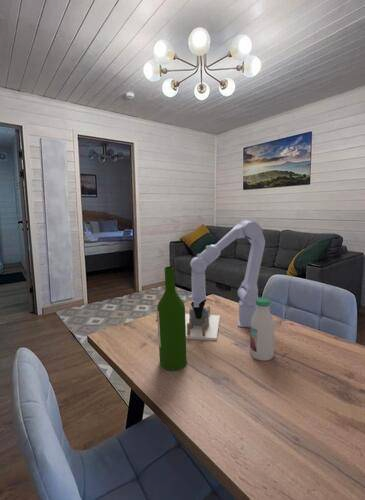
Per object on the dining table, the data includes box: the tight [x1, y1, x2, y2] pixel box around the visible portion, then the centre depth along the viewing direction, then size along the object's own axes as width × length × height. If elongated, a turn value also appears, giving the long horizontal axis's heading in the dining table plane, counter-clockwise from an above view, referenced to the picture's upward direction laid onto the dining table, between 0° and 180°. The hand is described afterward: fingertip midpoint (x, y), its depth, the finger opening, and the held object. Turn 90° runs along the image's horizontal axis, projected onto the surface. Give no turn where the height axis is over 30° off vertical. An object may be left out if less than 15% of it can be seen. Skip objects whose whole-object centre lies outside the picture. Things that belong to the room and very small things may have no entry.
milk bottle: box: [249, 297, 275, 362], centre depth 91 cm, size 8×8×20 cm
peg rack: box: [185, 306, 221, 342], centre depth 114 cm, size 16×21×6 cm
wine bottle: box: [156, 266, 188, 372], centre depth 87 cm, size 9×9×32 cm
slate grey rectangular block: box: [188, 307, 209, 327], centre depth 114 cm, size 8×2×7 cm, turn 78°
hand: (199, 317), depth 114 cm, fingers closed on slate grey rectangular block, 2 cm apart
